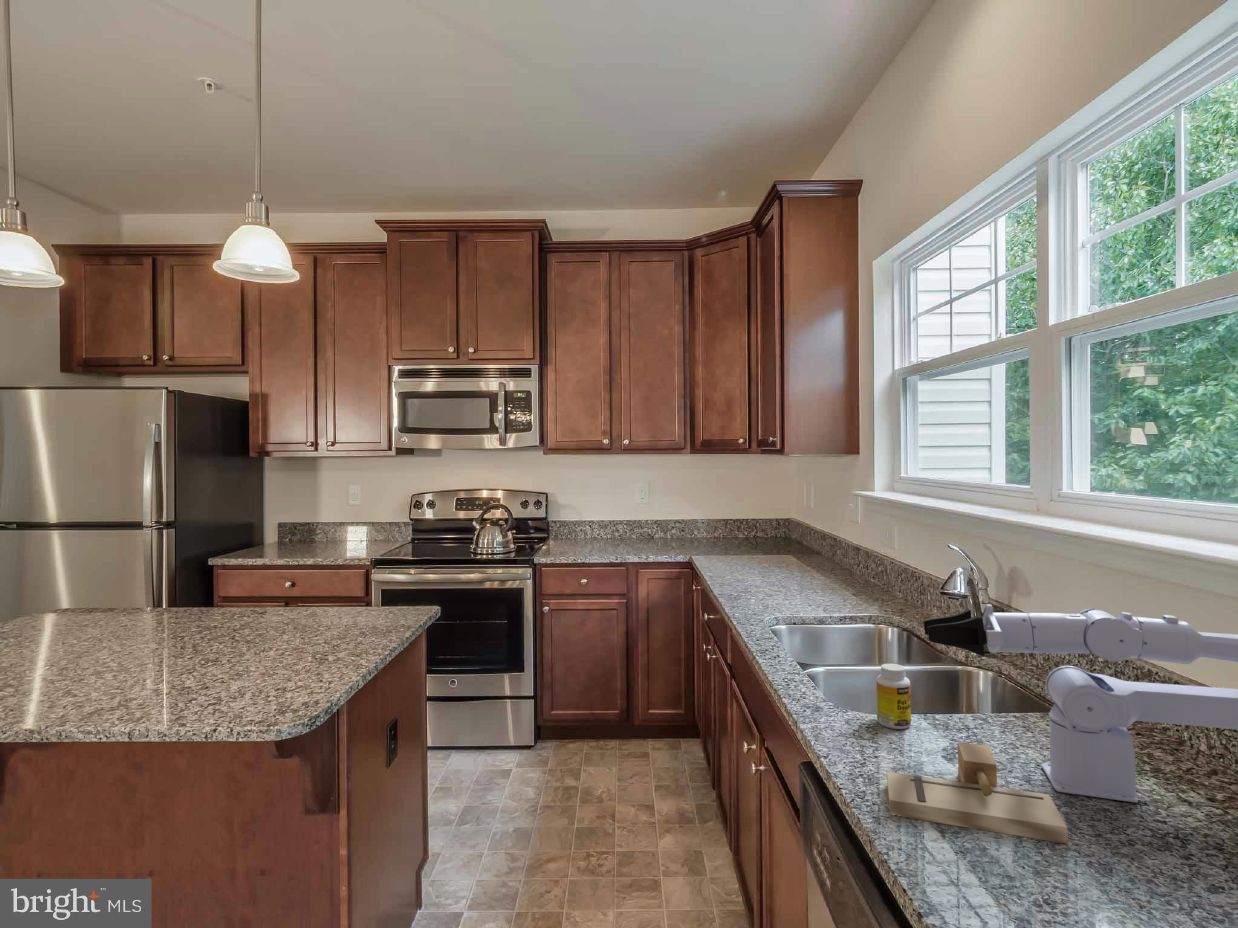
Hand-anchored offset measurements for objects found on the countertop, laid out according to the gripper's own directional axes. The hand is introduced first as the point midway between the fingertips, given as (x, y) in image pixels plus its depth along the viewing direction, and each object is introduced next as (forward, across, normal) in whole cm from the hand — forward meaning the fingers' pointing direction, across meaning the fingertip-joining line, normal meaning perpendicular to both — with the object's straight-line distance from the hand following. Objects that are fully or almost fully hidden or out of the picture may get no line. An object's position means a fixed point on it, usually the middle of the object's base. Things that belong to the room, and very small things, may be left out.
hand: (926, 630), depth 98 cm
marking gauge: (-5, +5, +22) cm, 23 cm away
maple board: (-3, +10, +22) cm, 25 cm away
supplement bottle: (+6, -16, +18) cm, 25 cm away
